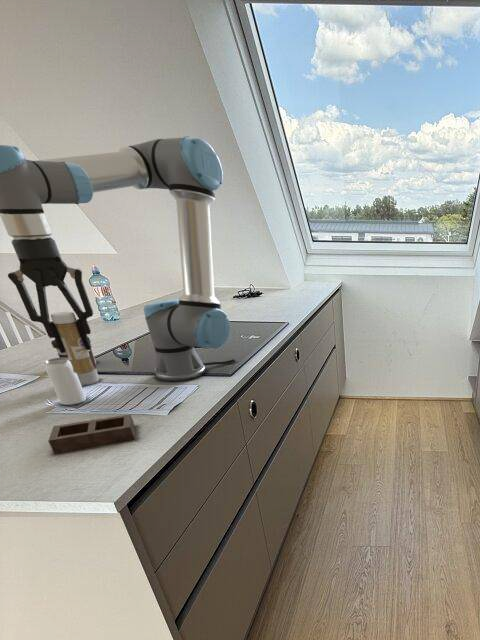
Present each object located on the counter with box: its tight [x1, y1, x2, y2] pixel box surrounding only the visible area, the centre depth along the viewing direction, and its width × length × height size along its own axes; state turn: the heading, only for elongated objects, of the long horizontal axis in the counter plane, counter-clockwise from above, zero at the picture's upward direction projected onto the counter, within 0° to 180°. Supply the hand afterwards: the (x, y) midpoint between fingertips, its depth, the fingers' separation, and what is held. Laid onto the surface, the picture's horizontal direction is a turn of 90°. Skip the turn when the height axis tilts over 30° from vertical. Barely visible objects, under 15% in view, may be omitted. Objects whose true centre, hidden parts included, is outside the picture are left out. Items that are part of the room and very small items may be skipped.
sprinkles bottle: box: [50, 311, 95, 374], centre depth 106 cm, size 5×5×13 cm
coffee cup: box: [50, 336, 100, 386], centre depth 141 cm, size 10×10×15 cm
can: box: [44, 357, 87, 406], centre depth 128 cm, size 6×6×12 cm
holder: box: [48, 413, 136, 455], centre depth 109 cm, size 16×9×4 cm, turn 117°
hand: (76, 349), depth 107 cm, fingers closed on sprinkles bottle, 5 cm apart
